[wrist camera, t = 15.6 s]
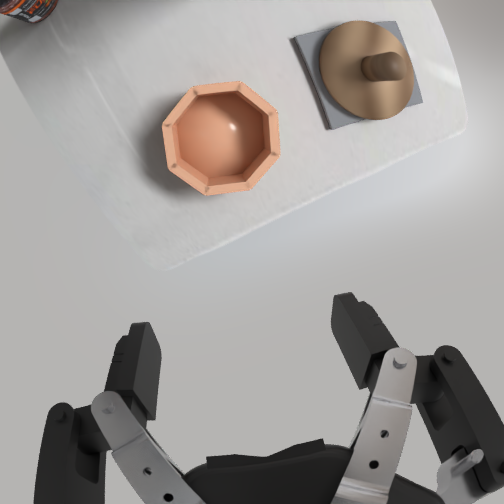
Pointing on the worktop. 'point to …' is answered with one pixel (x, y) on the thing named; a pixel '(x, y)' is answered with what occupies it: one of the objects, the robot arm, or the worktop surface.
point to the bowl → (221, 138)
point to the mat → (310, 54)
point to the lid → (366, 70)
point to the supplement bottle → (27, 9)
